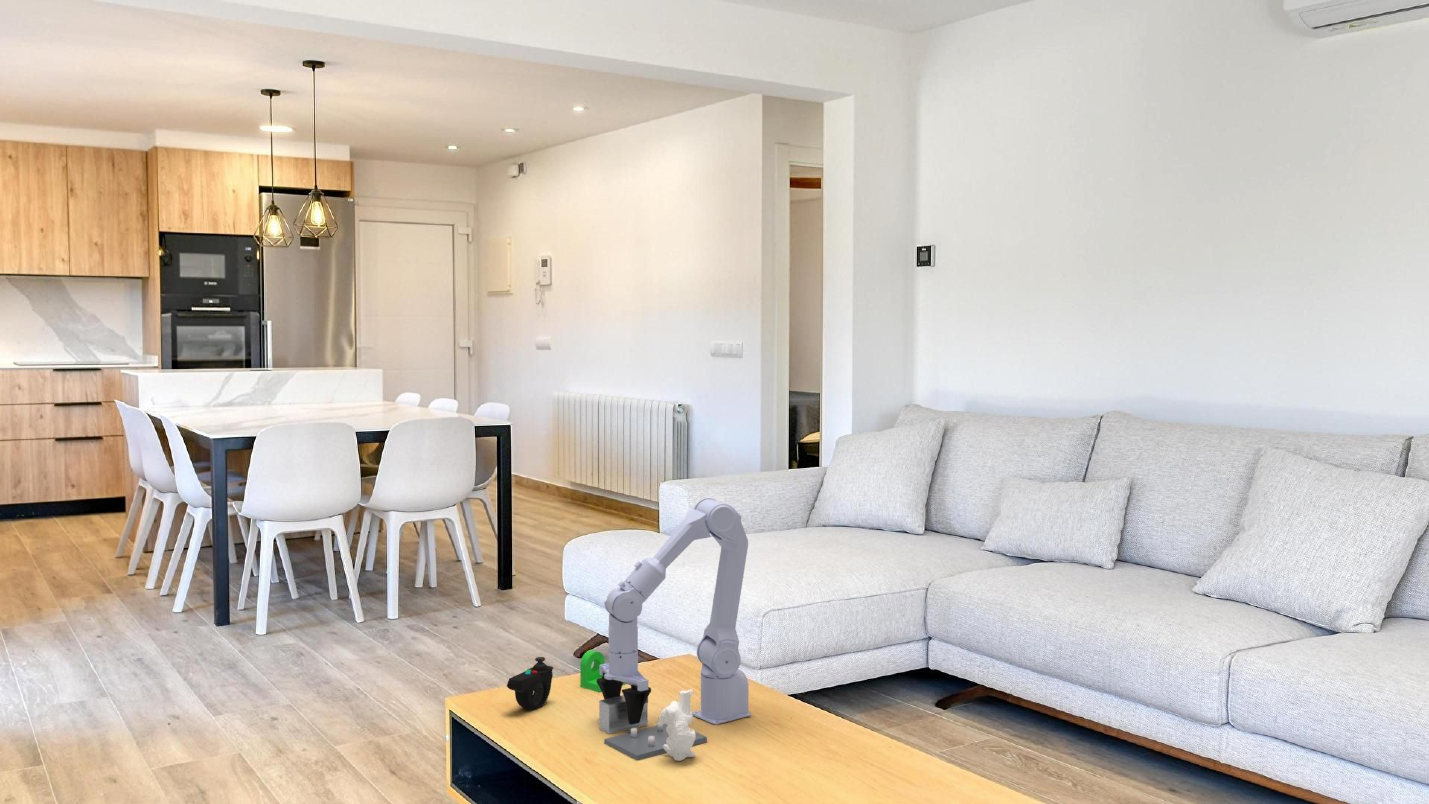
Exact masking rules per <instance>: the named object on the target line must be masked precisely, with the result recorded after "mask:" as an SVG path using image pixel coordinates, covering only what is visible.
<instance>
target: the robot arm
mask: <svg viewBox="0 0 1429 804" xmlns="http://www.w3.org/2000/svg"><path fill="white" fill-rule="evenodd" d="M746 534H747V533H746V532H745V529H744V525H743V524H742V515H740V513H739V512H738V511H737V510H736V509H735V508H734V507H733V506H732V505H730V504H728V503H724V502H721V501H718V500H716V499H715V498H711V497H706V498H705V497H704V498H701V499H700V500H698V501H697V503H696V504H695V505H694V507H693V508H691V509H690V510H688V511H687V512H686V515H685V516H684V518H683V520H682V521H681V522H680V523H679V525H678V526H677V527H676V529H675V530H674V531H673V532H672V533H671V534H670V536H669V537H668V539H667V540H666V541H665V542H664V543H663V545H662V546H661V547H660V548H659V550H657V552H656V553H655V555H653V557H647V558H643V559H642V560H641V561H640V560H639V561H637V562H636V563H635V564H634V565H633V566H634V567H635V569H633V571H632V572H631V573H630V574H629V575H628V576H627V577H626V578H625V580H624V581H623V580H621V581H620V582H619V583H618V586H619V587H617V588H613V589H612V590H610V591H609V593H608V594H607V596H606V600H605V601H603V602H604V604H603V605H604V608H605V609H606V612H608V662H607V663H605V664H601V665H600V675H603V676H602V678H598V679H597V684H598V685H599V687H600V689H601V691H602V692H601V695H602V697H603V700H604V699H609V698H613V697H618V696H621V693H622V695H624V698H625V701H626V705H627V713H628V721H629V724H631V725H632V724H636V723H640V719H641V715H642V711H643V707H644V704H645V702H646V700H647V698H648V699H649V696H650V694H651V692H652V687H650V686H649V679H648V678H646V677H644V676H643V674H642V673H641V672H640V671H639V642H638V640H639V638H638V637H639V635H638V634H639V633H638V631H639V630H638V629H639V626H638V617H639V616H640V615H641V613H642V610H643V604H644V603H645V602H646V601H647V600H648V599H649V597H650V596H651V595H652V594H653V593H654V592H655V591H656V590H657V588H658V587H659V586H660V585H661V584H662V583H663V581H665V579H666V578H667V577H666V574H667V572H666V570H667V568H668V567H669V566H670V565H671V564H672V563H673V562H674V561H675V560H676V559H677V558H679V556H680V555H681V554H682V553H683V552H684V551H685V550H686V549H687V548H688V547H689V546H690V545H691V544H692V543H693V542H694V541H697V540H701V539H707V538H711V537H712V538H713V539H714V540H715V541H716V542H717V543H718V545H719V546H720V553H719V562H718V567H717V574H716V580H715V587H714V592H713V600H712V607H711V612H710V620H709V624H707V626H706V627H705V628H704V630H703V635H702V638H701V640H700V641H699V643H698V645H697V647H696V656H697V659H698V661H699V662H700V663H701V664H702V665H701V669H700V710H698V711H697V710H696V711H692V715H693V717H695V718H698V719H701V720H703V721H705V722H707V723H709V724H712V725H715V726H716V725H720V724H724V723H728V722H731V721H735V720H739V719H743V718H747V717H751V716H752V713H751V712H749V681H748V678H747V676H746V674H745V673H744V671H742V670H741V669H739V668H740V666H741V662H742V659H741V654H740V652H739V651H740V650H739V645H740V640H739V637H738V633H737V630H736V626H737V619H738V614H739V607H740V601H741V595H742V587H743V581H744V573H745V568H746V567H745V566H746V562H747V561H746V560H747V553H748V547H749V540H748V537H747V535H746ZM623 682H624V683H626V684H625V685H628V686H630V687H629V688H625V689H622V688H623V686H624V685H623Z"/></svg>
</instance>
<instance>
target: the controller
mask: <svg viewBox="0 0 1429 804" xmlns="http://www.w3.org/2000/svg"><path fill="white" fill-rule="evenodd" d="M535 661H536V663H535V664H534V665H533V666H532V667H530V668H527V669H526V670H525V671H523V672H521V673H518V674H517V675H514V676H512V677H509V678H508V681H507V684H506V687H507V688H508V689H509V690H511V691H514V694H515V695H514V696H515V701H516V702H517V704H518V705H519V707H521V708H522V709H524V710H528V709H529V710H528V711H533V710H534V709H535V710H538V709H540V708H542V707H543V706H544V705H545V703H546V702H547V700H548V698H549V696H550V693H551V689H552V681H553V677H554V675H553V673H554V672H553V670H554V666H552V665H551V666H550V665H548V664H546V663H545V661H546V657H544V656H537V657H535Z"/></svg>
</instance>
